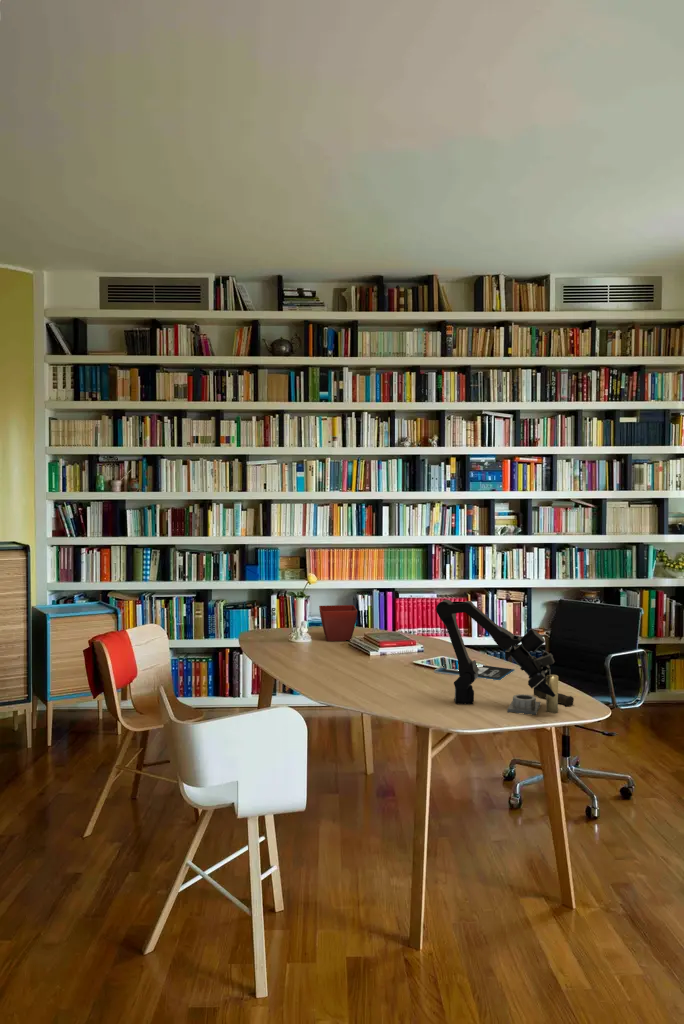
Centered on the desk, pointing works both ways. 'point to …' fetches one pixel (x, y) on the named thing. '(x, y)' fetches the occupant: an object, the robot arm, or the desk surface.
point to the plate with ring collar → (524, 704)
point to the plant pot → (338, 621)
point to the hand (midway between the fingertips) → (555, 693)
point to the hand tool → (561, 698)
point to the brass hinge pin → (551, 701)
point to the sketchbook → (481, 672)
